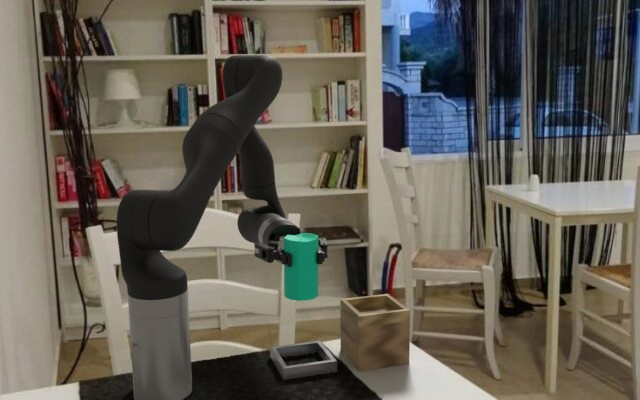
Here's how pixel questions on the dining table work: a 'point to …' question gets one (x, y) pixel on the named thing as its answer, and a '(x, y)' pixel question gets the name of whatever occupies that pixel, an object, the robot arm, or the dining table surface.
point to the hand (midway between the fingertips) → (305, 259)
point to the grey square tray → (307, 368)
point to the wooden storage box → (375, 331)
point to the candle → (301, 267)
